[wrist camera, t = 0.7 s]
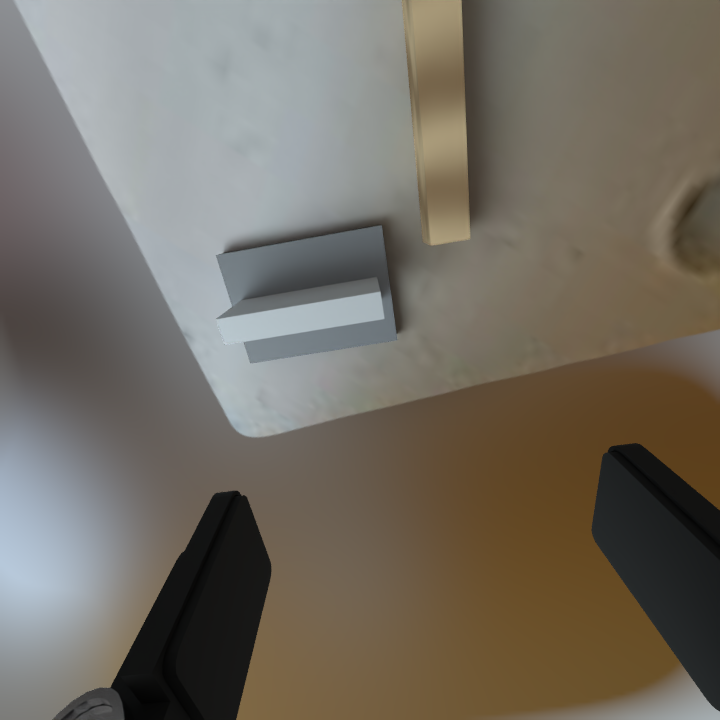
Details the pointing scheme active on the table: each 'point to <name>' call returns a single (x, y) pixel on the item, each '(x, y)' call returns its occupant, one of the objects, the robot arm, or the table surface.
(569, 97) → the table surface
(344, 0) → the table surface
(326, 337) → the fulcrum
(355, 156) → the table surface
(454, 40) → the rod
